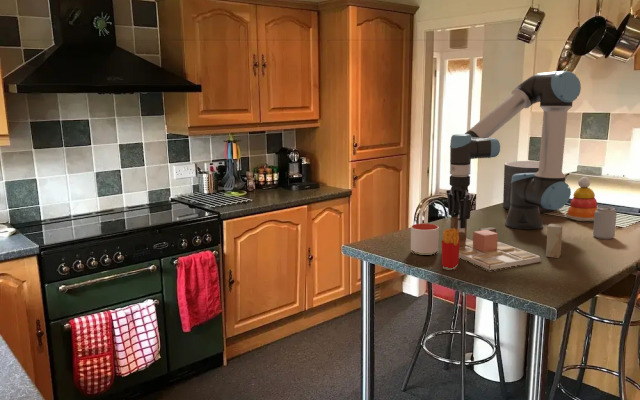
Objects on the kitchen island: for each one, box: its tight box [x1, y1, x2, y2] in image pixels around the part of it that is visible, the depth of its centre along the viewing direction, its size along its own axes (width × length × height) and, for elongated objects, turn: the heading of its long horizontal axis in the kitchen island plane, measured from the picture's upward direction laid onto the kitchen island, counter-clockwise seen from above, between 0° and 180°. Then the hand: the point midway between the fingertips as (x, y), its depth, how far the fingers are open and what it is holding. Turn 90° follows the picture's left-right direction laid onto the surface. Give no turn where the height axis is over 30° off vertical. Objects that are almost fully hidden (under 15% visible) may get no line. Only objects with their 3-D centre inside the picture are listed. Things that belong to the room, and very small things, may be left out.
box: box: [545, 223, 564, 259], centre depth 182 cm, size 5×4×11 cm
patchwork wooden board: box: [459, 227, 536, 265], centre depth 184 cm, size 22×20×6 cm
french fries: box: [441, 227, 460, 268], centre depth 173 cm, size 9×4×13 cm, turn 143°
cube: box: [472, 230, 499, 252], centre depth 186 cm, size 6×6×6 cm
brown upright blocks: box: [449, 216, 502, 256], centre depth 191 cm, size 22×6×10 cm, turn 23°
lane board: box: [459, 241, 542, 270], centre depth 184 cm, size 24×22×2 cm
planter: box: [502, 160, 558, 214], centre depth 256 cm, size 25×25×22 cm
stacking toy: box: [565, 176, 598, 222], centre depth 231 cm, size 14×14×20 cm
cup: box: [410, 223, 440, 253], centre depth 190 cm, size 10×10×10 cm
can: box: [592, 206, 618, 240], centre depth 203 cm, size 8×8×12 cm
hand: (458, 234), depth 200 cm, fingers closed on brown upright blocks, 2 cm apart
